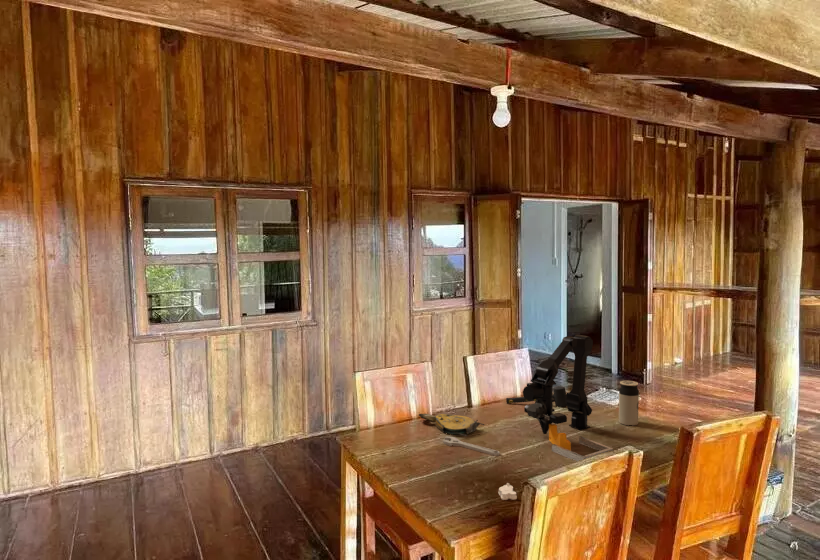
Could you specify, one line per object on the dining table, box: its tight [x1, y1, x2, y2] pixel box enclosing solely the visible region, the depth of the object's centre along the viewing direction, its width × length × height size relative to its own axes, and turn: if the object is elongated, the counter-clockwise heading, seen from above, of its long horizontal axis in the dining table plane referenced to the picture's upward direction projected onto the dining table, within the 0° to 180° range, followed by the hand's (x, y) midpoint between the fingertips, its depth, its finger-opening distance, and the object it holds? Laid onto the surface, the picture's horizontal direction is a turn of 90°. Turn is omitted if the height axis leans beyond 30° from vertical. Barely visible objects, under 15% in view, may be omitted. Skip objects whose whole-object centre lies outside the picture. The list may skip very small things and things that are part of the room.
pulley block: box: [418, 413, 485, 437], centre depth 234 cm, size 14×6×30 cm
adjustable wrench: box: [442, 436, 500, 457], centre depth 210 cm, size 25×6×2 cm, turn 48°
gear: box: [498, 482, 518, 501], centre depth 172 cm, size 9×9×2 cm
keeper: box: [551, 436, 614, 462], centre depth 205 cm, size 16×15×2 cm
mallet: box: [505, 385, 567, 408], centre depth 266 cm, size 29×6×10 cm, turn 80°
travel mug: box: [618, 380, 640, 426], centre depth 238 cm, size 8×8×18 cm
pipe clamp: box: [548, 423, 572, 451], centre depth 212 cm, size 12×4×6 cm, turn 5°
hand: (544, 434), depth 221 cm, fingers closed
